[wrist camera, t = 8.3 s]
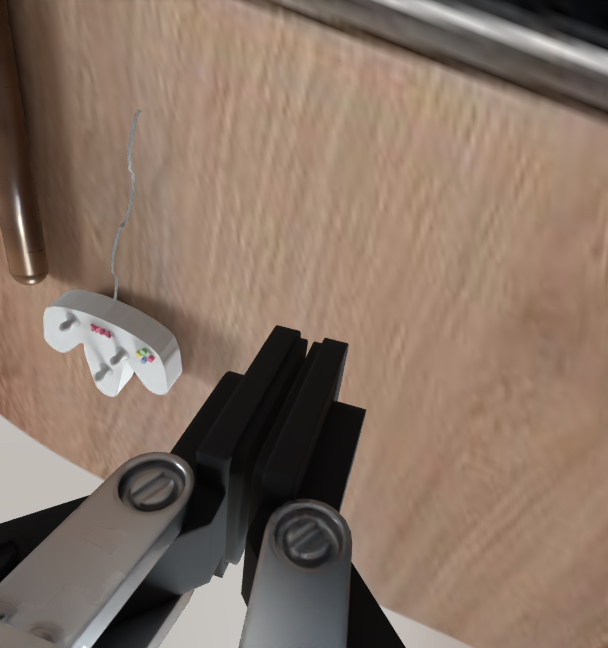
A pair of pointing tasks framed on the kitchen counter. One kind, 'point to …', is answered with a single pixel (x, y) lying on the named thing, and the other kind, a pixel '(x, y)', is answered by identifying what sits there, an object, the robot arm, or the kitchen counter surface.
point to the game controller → (114, 332)
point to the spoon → (17, 174)
